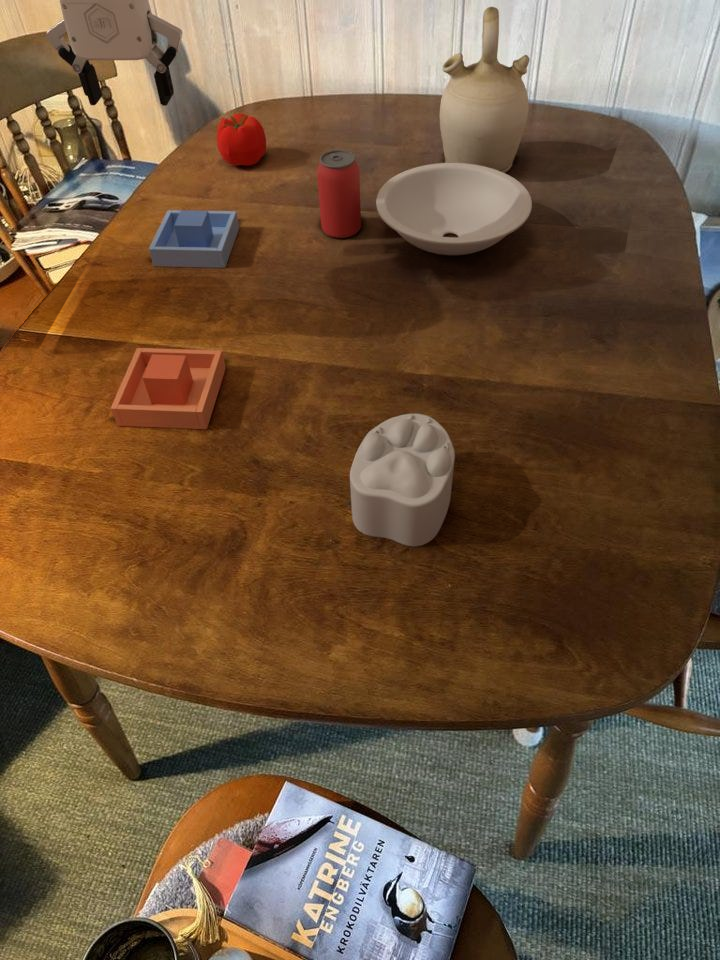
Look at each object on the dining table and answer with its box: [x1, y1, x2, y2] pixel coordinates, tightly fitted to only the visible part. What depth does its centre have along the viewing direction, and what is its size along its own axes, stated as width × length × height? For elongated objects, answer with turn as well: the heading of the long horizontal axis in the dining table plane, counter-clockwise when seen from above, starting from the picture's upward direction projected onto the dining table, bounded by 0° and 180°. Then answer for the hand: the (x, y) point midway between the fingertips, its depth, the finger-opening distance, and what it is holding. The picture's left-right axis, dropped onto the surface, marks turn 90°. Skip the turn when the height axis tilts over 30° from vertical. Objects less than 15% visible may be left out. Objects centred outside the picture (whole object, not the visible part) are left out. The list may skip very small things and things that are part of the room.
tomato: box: [216, 113, 267, 167], centre depth 132 cm, size 9×9×8 cm
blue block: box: [174, 209, 213, 248], centre depth 115 cm, size 4×4×4 cm
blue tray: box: [148, 209, 240, 269], centre depth 116 cm, size 12×12×3 cm
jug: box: [439, 6, 530, 174], centre depth 122 cm, size 15×16×25 cm
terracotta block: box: [143, 354, 193, 405], centre depth 92 cm, size 4×4×4 cm
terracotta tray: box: [110, 347, 227, 430], centre depth 93 cm, size 12×12×3 cm
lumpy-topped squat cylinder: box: [349, 413, 456, 547], centre depth 79 cm, size 10×13×9 cm
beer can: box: [316, 149, 362, 239], centre depth 114 cm, size 7×7×12 cm
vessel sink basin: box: [375, 162, 533, 256], centre depth 114 cm, size 24×24×7 cm
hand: (131, 101), depth 96 cm, fingers open, 9 cm apart
